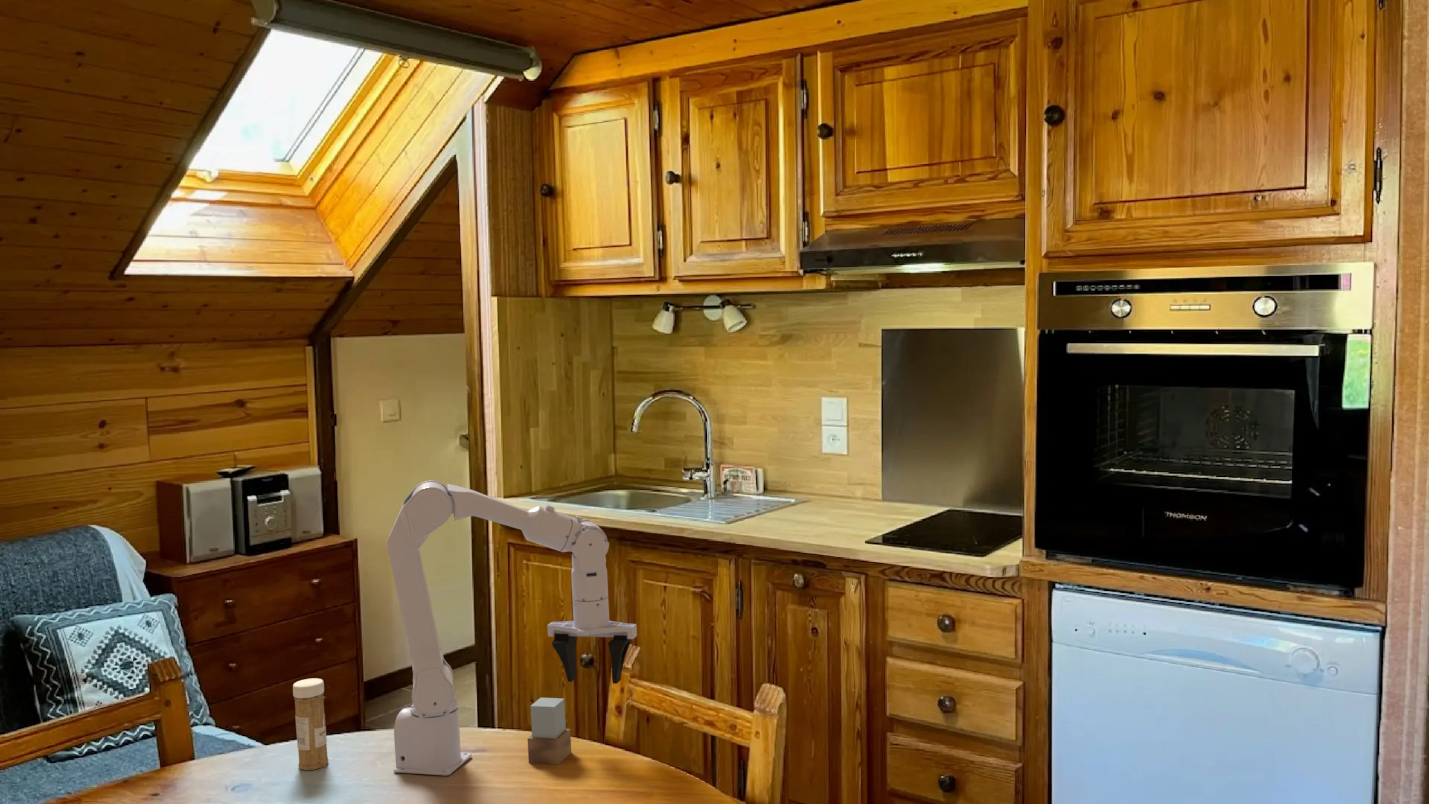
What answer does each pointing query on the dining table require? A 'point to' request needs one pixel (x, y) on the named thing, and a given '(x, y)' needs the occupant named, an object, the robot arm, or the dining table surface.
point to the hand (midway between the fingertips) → (594, 680)
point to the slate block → (548, 718)
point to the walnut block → (549, 749)
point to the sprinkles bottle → (310, 723)
